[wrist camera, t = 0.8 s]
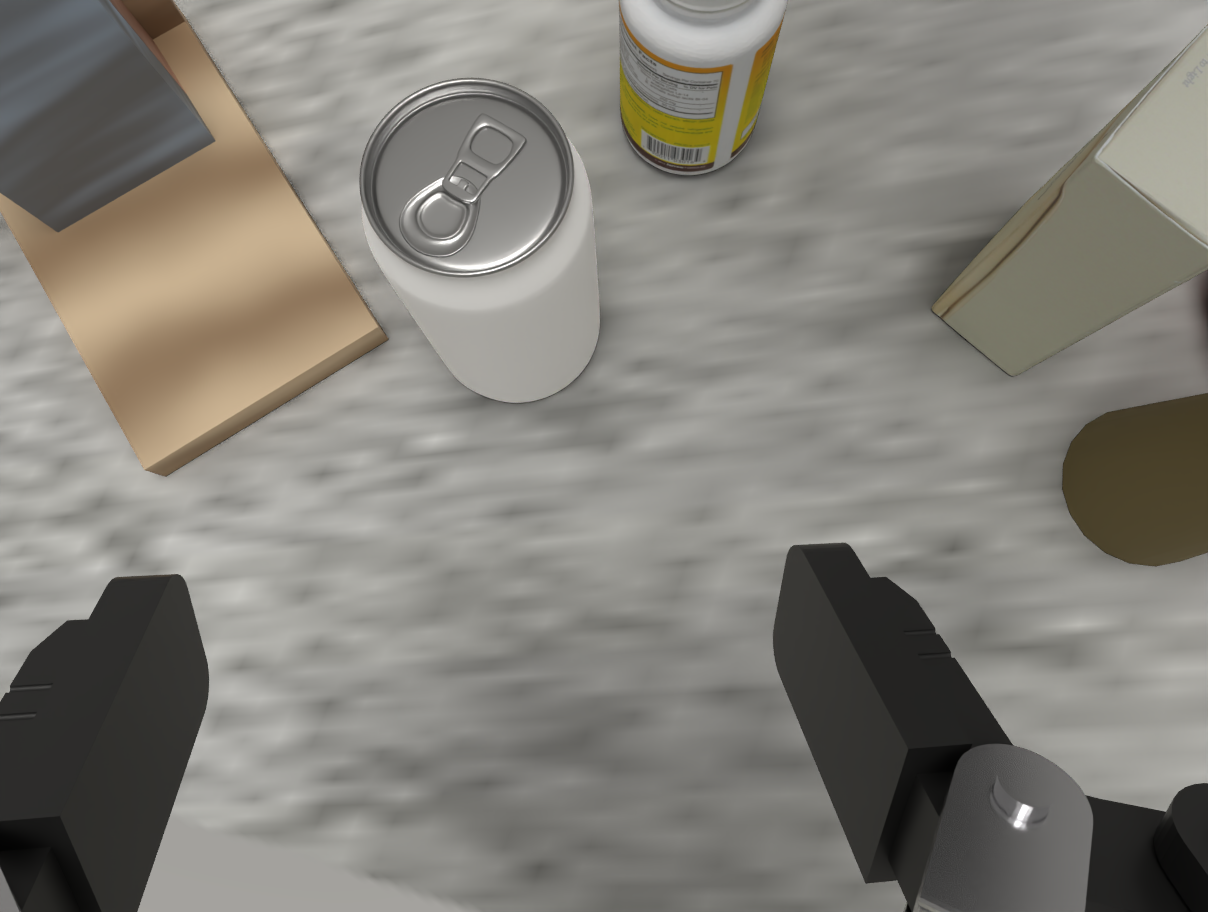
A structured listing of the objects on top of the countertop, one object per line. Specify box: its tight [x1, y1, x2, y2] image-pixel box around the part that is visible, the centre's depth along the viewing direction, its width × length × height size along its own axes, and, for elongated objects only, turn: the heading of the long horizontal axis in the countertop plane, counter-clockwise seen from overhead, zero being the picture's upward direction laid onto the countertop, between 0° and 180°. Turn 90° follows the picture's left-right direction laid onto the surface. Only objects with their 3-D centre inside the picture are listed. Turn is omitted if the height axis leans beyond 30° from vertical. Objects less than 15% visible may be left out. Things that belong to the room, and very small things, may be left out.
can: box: [360, 78, 600, 403], centre depth 29 cm, size 6×6×12 cm
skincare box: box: [932, 25, 1208, 376], centre depth 28 cm, size 6×4×12 cm
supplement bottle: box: [619, 0, 788, 175], centre depth 31 cm, size 6×6×10 cm
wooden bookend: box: [0, 0, 388, 476], centre depth 28 cm, size 17×10×14 cm, turn 33°
